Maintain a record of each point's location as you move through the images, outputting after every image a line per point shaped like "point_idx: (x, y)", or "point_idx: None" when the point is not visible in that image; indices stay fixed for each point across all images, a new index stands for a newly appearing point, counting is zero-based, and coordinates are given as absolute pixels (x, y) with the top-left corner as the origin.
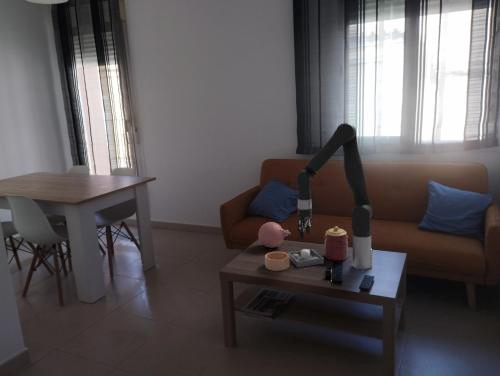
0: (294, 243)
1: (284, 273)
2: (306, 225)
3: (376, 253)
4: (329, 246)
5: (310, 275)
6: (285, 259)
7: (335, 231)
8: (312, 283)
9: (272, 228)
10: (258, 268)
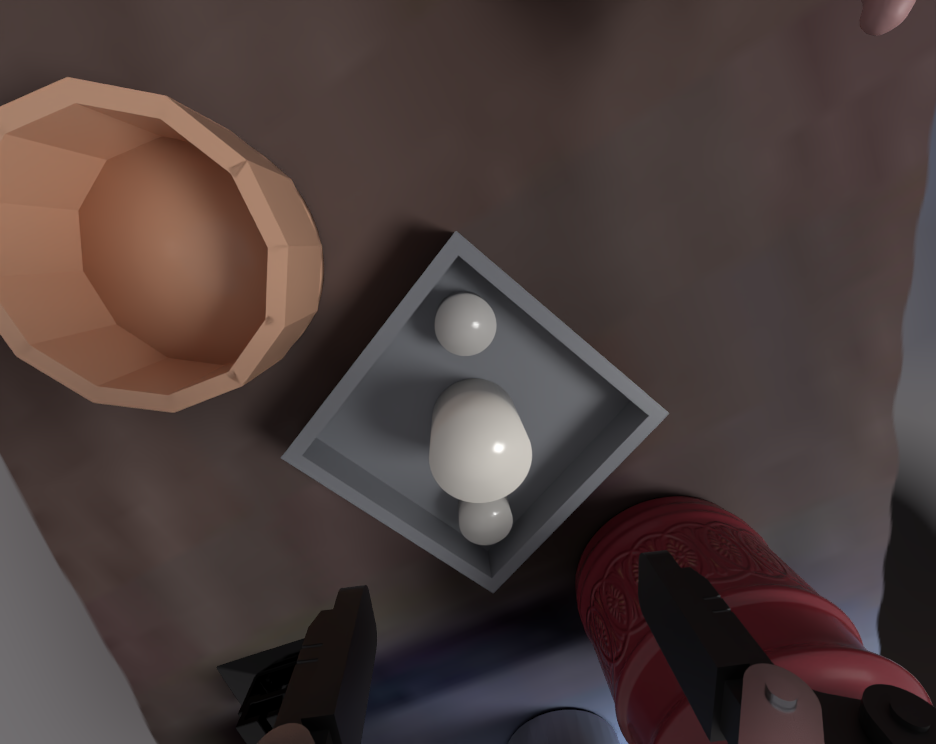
0: (885, 60)
1: None
2: (752, 725)
3: None
4: (619, 666)
5: (228, 581)
6: (125, 404)
7: None
8: (124, 646)
9: None
10: None
